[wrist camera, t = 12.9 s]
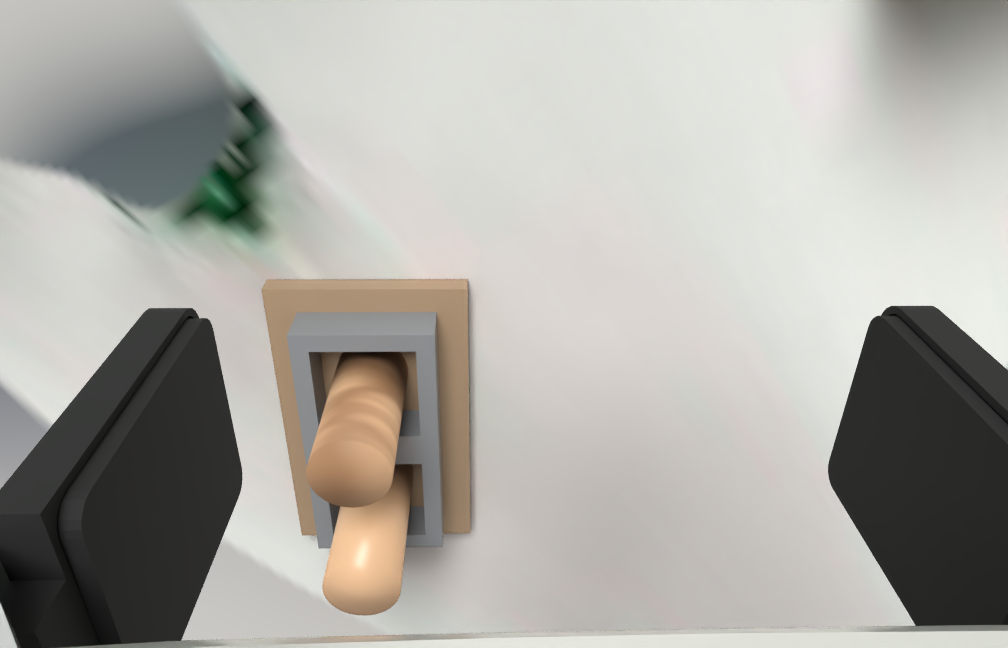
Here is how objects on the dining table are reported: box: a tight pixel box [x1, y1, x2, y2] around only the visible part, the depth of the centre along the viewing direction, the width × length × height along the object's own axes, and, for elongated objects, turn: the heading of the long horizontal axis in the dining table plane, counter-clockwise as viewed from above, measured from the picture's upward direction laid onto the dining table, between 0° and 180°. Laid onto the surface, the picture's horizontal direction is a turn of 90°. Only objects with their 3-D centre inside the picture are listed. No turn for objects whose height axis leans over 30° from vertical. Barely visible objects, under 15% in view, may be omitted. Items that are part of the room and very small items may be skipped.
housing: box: [262, 279, 470, 615], centre depth 41 cm, size 11×18×10 cm, turn 179°
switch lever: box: [306, 352, 408, 508], centre depth 39 cm, size 4×4×9 cm
